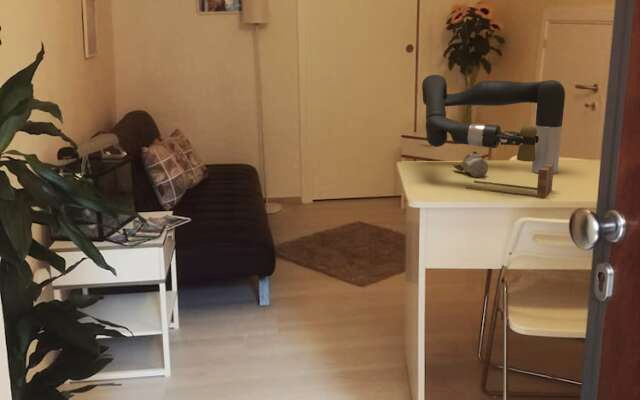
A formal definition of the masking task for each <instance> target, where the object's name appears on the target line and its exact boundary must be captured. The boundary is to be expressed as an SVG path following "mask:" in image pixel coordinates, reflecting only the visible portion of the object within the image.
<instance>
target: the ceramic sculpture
mask: <svg viewBox="0 0 640 400" xmlns="http://www.w3.org/2000/svg"><path fill="white" fill-rule="evenodd" d="M453 167H454V168H455V169H456V170H457V171H460V172H465V173H467V174H469V175H471V176H472V177H474V178H481V177H484V176H486V175H487V173H488V171H489V168H490V167H489V165H488V162H487V161H486V159H484V158H483V157H482V156H481V154H479V153H478V152H477V151H473V152H471V154H467V155H465V156H464V158H463V160H462V162H461V163H458V164H456V163H453Z"/></svg>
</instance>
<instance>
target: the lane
mask: <svg viewBox="0 0 640 400" xmlns="http://www.w3.org/2000/svg"><path fill="white" fill-rule="evenodd" d="M553 171H554V164H553V163H546V164H545V165H543V166H542V167H541V168H540V169H539V173H537V175H538V176H537V187H533V186H525V185H517V184H507V183H501V182H500V183H499V182H489V181H481V180H474V181H473V183H476V184H477V183H478V184H483V185H484V184H485V185H492V186H493V185H494V186H502V187H509V188H510V187H511V188H520V189H529V190H535V191H536V194H531V193H525V192H524V193H523V192H515V191H507V190H499V189H491V188H482V187H474V186H466V187H465V189H467V190H476V191H484V192H490V193H491V192H492V193H501V194H507V195H516V196H517V195H518V196H526V197H533V198H538V197H540V199H545V198H546V197H547V196H548V195H550V194H551V192H552V190H553V189H552V188H553V182H554V181H553V179H554V174H553Z"/></svg>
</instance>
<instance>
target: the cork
mask: <svg viewBox="0 0 640 400" xmlns="http://www.w3.org/2000/svg"><path fill="white" fill-rule="evenodd" d="M520 133H521V135H522V137H523V138H524V137H530V138H535V136H536V134H537V128H536V127H535V125H523V126H522V127H521V128H520ZM518 146H519V147H518V151H517V156H516V160H517V161H520V162H529V163H530V162H531V163H532V161H536V154H535V145H527V144H523V145H518Z"/></svg>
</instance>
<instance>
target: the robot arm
mask: <svg viewBox="0 0 640 400" xmlns="http://www.w3.org/2000/svg"><path fill="white" fill-rule="evenodd" d="M421 89H422V90H421V91H422V102H423V105H425V132H426V140H427V143H428V144H429V145H430V146H432V147H435V148H437V147H441V146H442V147H443V145H445V144H446V143H447V140H448V134H450V137H451V140H452V141H453V143H455V144H458V145H469V146H473V147H480V148H491V149H497V148H498V147H499V145H502V146H504V145H506V146H520V145H523V144H527V145H535V154H536V161H531V172H533V173H536V174H539V169H540V168H541V167H542V166H543V165H545V164H546V163H553V164H554V171H553V175H555V174H558V171H559V162H560V151H561V142H562V141H561V138H562V129H563V128H562V127H563V121H564V112H565V111H564V110H565V103H566V102H565V101H566V100H565V98H566V90H565V87H564V86H563V84H562V83H561V82H560V81H557V80H555V79H554V80H553V79H550V80H543V81H532V82H530V81H529V82H521V81H512V80H481V81H479V82H477V83H475V84H473V85H471V86H470V87H469V88H468V87H467V89H465V90H462V91H459V92H456V93H455V92H454V93H448V84H447V80H446V78H445V77H444V76H442V75H440V74H431V75H427V76H426V77H425V78H424V79H423V80H422V83H421ZM522 103H523V104H524V103H529V104H530V103H531V104H536V113H535V125H534V127H536V128H537V134H536V136H535V138H530V137H524V138H523V137H522V135H521V133H520V132H519V131H513V130H505V131H503V132H502V131H501V130H502V129H501V126H500V125H498V124H497V125H496V124H486V123H466V122H459V121H457V120H453V119H450V118H448V117H447V113H446V112H447V111H446V107H454V106H455V107H457V106H487V107H489V106H490V107H493V106H494V107H499V106H500V107H501V106H508V105H514V104H522Z"/></svg>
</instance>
